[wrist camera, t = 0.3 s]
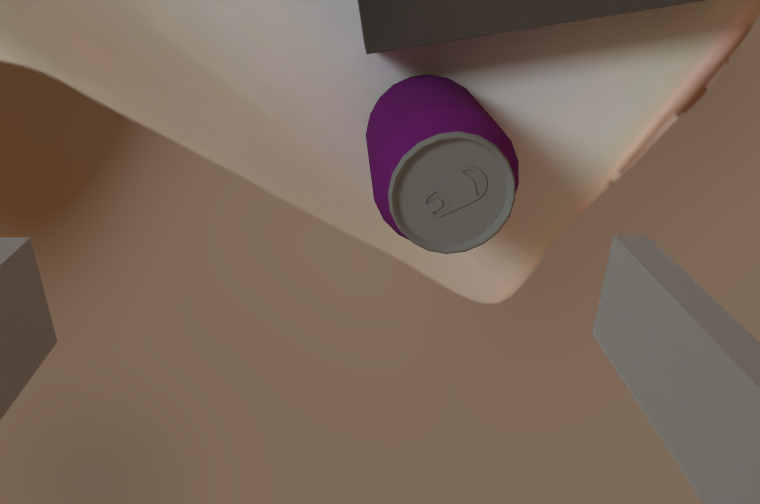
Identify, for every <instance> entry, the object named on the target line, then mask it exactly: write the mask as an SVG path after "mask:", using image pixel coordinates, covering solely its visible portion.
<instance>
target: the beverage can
mask: <svg viewBox="0 0 760 504" xmlns="http://www.w3.org/2000/svg"><path fill="white" fill-rule="evenodd" d="M366 139H367V148H368V156H369V164H370V171H371V179H372V186H373V194H374V201H375V203H376V205H377V207H378V209H379V211H380V213H381V215H382V217H383V219H384V221H385V222H386V223H387V224H388V225H389V226H390V227H391V228H392V229H393V230H394V231H395V232H396V233H397V234H398V235H400V236H402V237H404V238H406V239H408V240H410V241H411V242H412V243H414V244H416V245H418V246H420V247H422V248H424V249H426V250H428V251H433V252H439V253H445V254H449V253H457V252H465V251H468V250H470V249H473V248H475V247H477V246H480V245H482V244H484V243H485V242H486V241H488V240H489V239H490V238H492V237H493V236H494V235H495V234H497V233H498V232H499V230H500V229H501V228H502V226H503V225H504V223H505V222H506V221H507V219H508V218H509V216H510V213H511V210H512V207H513V204H514V201H515V194H516V190H517V187H518V159H517V156H516V153H515V150H514V148H513V145H512V142H511V140H510V139H509V138H508V136H507V135H506V134H505V133H504V132H503V130H502V129H501V128H500V127H499V126H498V124H497V123H496V122H495V121H494V120H493V119H492V118H491V116H490V115H489V114H488V113H487V112H486V111H485V110H484V108H483V107H482V106H481V105H480V104H479V103H478V102H477V101H476V99H475V98H474V97H473V96H472V95H471V94H470V93H469V92H468V90H467V89H465V88H464V87H462V86H460V85H459V84H457V83H455V82H454V81H452V80H450V79H448V78H444V77H439V76H434V75H421V76H413V77H409V78H407V79H405V80H403V81H401V82H398V83H396V84H394V85H393V86H392V87H391V88H390V89H388V90H387V91H386V92H385V93H384V94H383V95H382V96H381V97H380V98H379V100H378V101H377V103H376V105H375V107H374V108H373V110H372V112H371V114H370V118H369V122H368V127H367V132H366Z"/></svg>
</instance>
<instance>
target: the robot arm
mask: <svg viewBox="0 0 760 504" xmlns="http://www.w3.org/2000/svg"><path fill="white" fill-rule="evenodd" d="M593 336H594V337H595V339H596V340H597V342H598V343H599V345H600V346H601V348H602V349H603V351H604V352H605V354H606V356H607V357H608V359H609V360H610V361H611V363H612V365H613V366H614V368H615V369H616V371H617V372H618V374H619V375H620V377H621V379H622V380H623V382H624V383H625V385H626V386H627V388H628V389H629V391H630V392H631V394H632V395H633V397H634V398H635V400H636V401H637V403H638V405H639V406H640V408H641V409H642V410H643V412H644V414H645V415H646V417H647V418H648V420H649V421H650V423H651V424H652V426H653V427H654V429H655V430H656V432H657V434H658V435H659V437H660V438H661V440H662V441H663V443H664V444H665V446H666V447H667V449H668V451H669V452H670V453H671V455H672V456H673V458H674V459H675V461H676V463H677V464H678V466H679V467H680V469H681V470H682V472H683V473H684V475H685V476H686V478H687V480H688V481H689V483H690V484H691V485H692V487H693V489H694V490H695V492H696V493H697V495H698V496H699V498H700V499H701V501H702V503H703V504H760V342H759V341H758V340H757V339H756V338H755V337H754V336H753V335H752V334H751V333H750V332H748V331H747V330H746V329H745V328H744V327H743V326H742V325H741V324H740V323H739V322H738V321H737V320H736V319H735V318H733V317H732V316H731V315H730V314H729V313H728V312H727V311H726V310H725V309H724V308H723V307H722V306H721V305H720V304H719V303H718V302H717V301H716V300H714V299H713V298H712V297H711V296H710V295H709V294H708V293H707V292H706V291H705V290H704V289H703V288H702V287H701V286H699V285H698V284H697V283H696V282H695V281H694V280H693V279H692V278H691V277H690V276H689V275H688V274H687V273H686V272H685V271H684V270H682V269H681V268H680V267H679V266H678V265H677V264H676V263H675V262H674V261H673V260H672V259H671V258H670V257H669V256H667V255H666V254H665V253H664V252H663V251H662V250H661V249H660V248H659V247H658V246H657V245H656V244H655V243H654V242H653V241H652V240H650V239H649V238H648V237H647V236H646V235H614V236H613V240H612V244H611V249H610V254H609V259H608V264H607V268H606V273H605V278H604V282H603V287H602V291H601V296H600V301H599V306H598V310H597V315H596V320H595V325H594V329H593ZM56 343H57V339H56V335H55V331H54V327H53V324H52V320H51V316H50V312H49V308H48V304H47V301H46V296H45V293H44V289H43V285H42V281H41V277H40V273H39V270H38V266H37V262H36V258H35V254H34V250H33V247H32V243H31V239H30V238H0V420H1V419H2V417H3V416H4V414H5V413H6V412H7V410H8V409H9V407H10V406H11V405H12V403H13V402H14V401H15V399H16V398H17V397H18V395H19V394H20V392H21V391H22V390H23V388H24V387H25V386H26V384H27V383H28V381H29V380H30V378H31V377H32V376H33V374H34V373H35V372H36V370H37V369H38V368H39V366H40V365H41V363H42V362H43V360H44V359H45V358H46V356H47V355H48V354H49V352H50V351H51V350H52V348H53V347H54V346H55V344H56Z"/></svg>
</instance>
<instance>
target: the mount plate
mask: <svg viewBox="0 0 760 504" xmlns="http://www.w3.org/2000/svg"><path fill="white" fill-rule="evenodd" d="M697 1H703V0H358V5H359V11H360V18H361V25H362V32H363V38H364V45H365V49H366V53H367V54H370V53H376V52H383V51H389V50H395V49H402V48H408V47H414V46H420V45H427V44H433V43H439V42H445V41H452V40H458V39H464V38H471V37H477V36H483V35H489V34H496V33H502V32H508V31H515V30H521V29H527V28H533V27H540V26H546V25H552V24H559V23H565V22H571V21H577V20H584V19H590V18H596V17H603V16H609V15H615V14H621V13H628V12H634V11H640V10H646V9H653V8H659V7H665V6H672V5H678V4H684V3H690V2H697Z"/></svg>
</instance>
